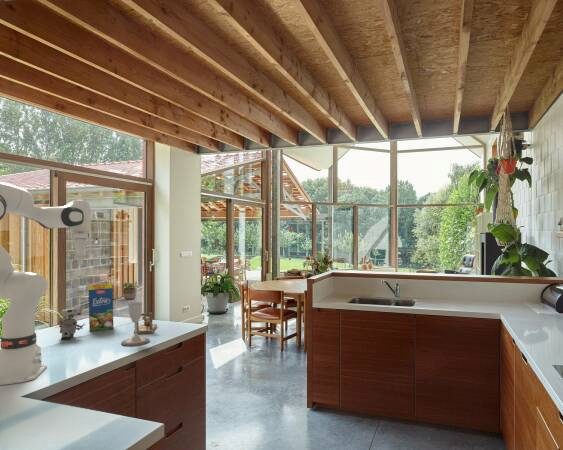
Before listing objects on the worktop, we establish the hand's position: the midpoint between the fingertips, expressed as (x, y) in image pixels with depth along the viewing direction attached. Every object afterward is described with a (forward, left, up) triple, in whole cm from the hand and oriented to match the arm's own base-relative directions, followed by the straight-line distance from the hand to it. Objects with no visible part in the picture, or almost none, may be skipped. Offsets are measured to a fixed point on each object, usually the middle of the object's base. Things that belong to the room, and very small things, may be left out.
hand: (81, 264), depth 200 cm
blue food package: (+39, -8, -39) cm, 56 cm away
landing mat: (-1, -23, -39) cm, 45 cm away
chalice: (-1, -23, -38) cm, 45 cm away
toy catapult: (+23, -30, -39) cm, 54 cm away
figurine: (+26, +6, -39) cm, 47 cm away
